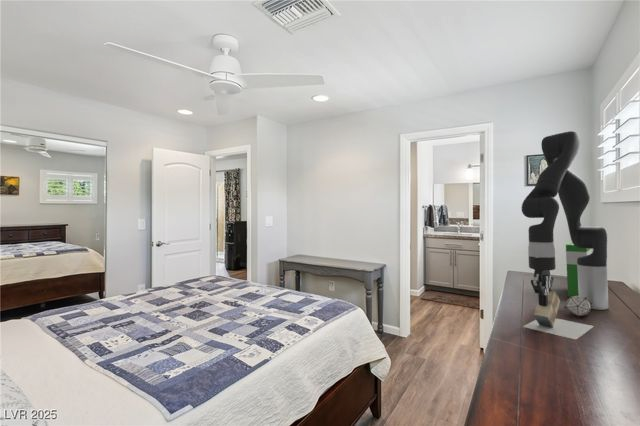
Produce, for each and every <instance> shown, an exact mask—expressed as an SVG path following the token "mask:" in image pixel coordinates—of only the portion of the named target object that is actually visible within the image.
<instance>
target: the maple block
mask: <svg viewBox="0 0 640 426" xmlns="http://www.w3.org/2000/svg"><path fill="white" fill-rule="evenodd" d="M547 296H548V305H547V306H540V305H539V299H538V301H537V303H536V307H535V310H534V314H533V317H534V320H537V322H538V323H539V325H542V326H546V327H551V328H553V326H554V322H555V318H556V317H557V315H558V310H559V306H560V302H561V300H560V298H559V295H558V294H557V292H556V291H555V290H551V291H550V292H549V294H548V295H547Z"/></svg>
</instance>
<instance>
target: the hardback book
mask: <svg viewBox="0 0 640 426" xmlns="http://www.w3.org/2000/svg"><path fill="white" fill-rule="evenodd" d="M591 253H593V249H589V248H578V247H575V246H574V245H573V243H572V241H571V242H568V243H566V244H565V254H566V255H565V256H566V258H565V260H566V276H567V277H566V280H567V297H569V295H570V296H571V297H572V296H577V294H579V292H578V271H577V258H579V257H582V256H587V255H590V254H591Z"/></svg>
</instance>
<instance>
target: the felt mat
mask: <svg viewBox="0 0 640 426" xmlns="http://www.w3.org/2000/svg"><path fill="white" fill-rule="evenodd" d="M594 327H595V326H594V325H591V324H590V325H589V324H586V323H580V322H576V321H570V320H566V319H561V318H555V322H554V326H553V328H551V327H546V326H542V325H539V323H538V322H537V320H536V319H534V320H532V321H530V322H529V323H528V322H527V324H524V325H522V328H527V329H530V330H534V331H539V332H542V333H547V334H552V335H554V336H555V335H556V336H559V337H563V338H567V339H572V340H575V341H576V340H578V339H579V338H581V336H584V334H586V333H587V332H589V331H590V330H591V329H593V328H594Z"/></svg>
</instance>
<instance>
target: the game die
mask: <svg viewBox="0 0 640 426" xmlns="http://www.w3.org/2000/svg"><path fill="white" fill-rule="evenodd" d="M568 297H569V298H568V299H564V301H565V302H566V304H565V306H564V307H563V309H567V310H568V311H569V314H573V315H575V316H577V318H578V319H579V318H580V317H581V316H586V317H589V315H588V314H589V313H590V312H591V313H592V312H594V311H593V309H592V310H591V308H590V304H593V303H589V302H588V301H587V300H586V298H587V297H585V298H583V297H581V296H579V294H577V296H570V295H569V296H568Z"/></svg>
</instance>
